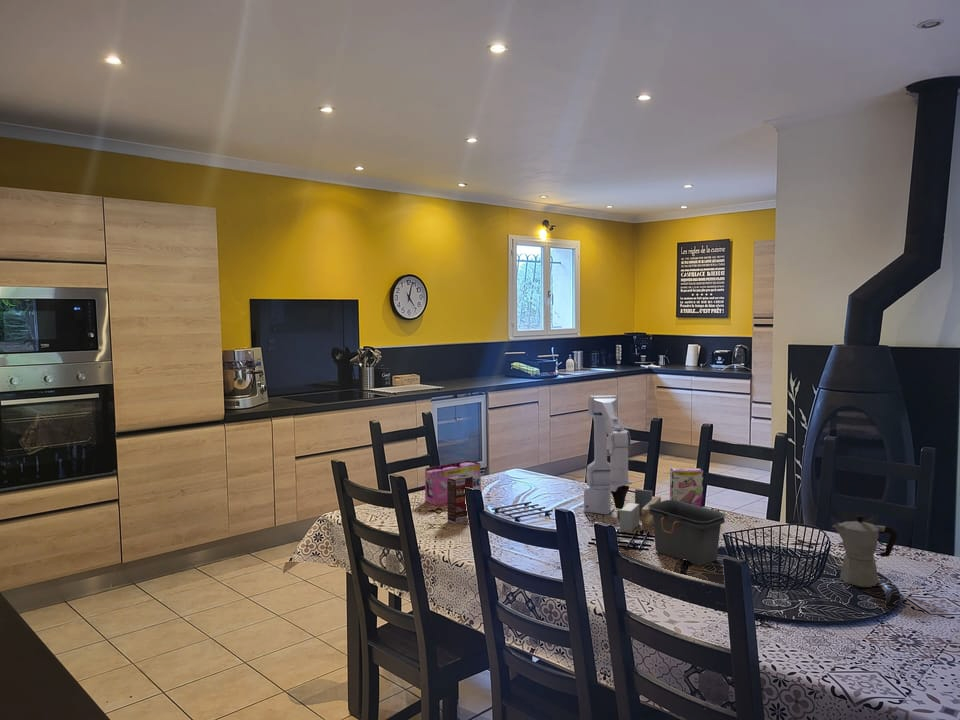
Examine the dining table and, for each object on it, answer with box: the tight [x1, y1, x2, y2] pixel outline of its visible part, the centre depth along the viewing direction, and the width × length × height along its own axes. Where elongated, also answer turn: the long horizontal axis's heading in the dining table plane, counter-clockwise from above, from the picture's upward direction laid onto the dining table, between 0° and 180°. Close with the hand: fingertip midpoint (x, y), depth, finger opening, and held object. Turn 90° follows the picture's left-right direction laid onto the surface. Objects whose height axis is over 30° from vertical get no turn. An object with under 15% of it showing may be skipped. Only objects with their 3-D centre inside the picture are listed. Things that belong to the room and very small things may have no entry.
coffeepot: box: [832, 514, 899, 588], centre depth 185 cm, size 15×9×18 cm, turn 68°
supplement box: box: [446, 475, 473, 525], centre depth 246 cm, size 9×5×16 cm, turn 131°
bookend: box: [634, 488, 653, 514], centre depth 251 cm, size 6×3×9 cm, turn 62°
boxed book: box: [619, 502, 640, 532], centre depth 236 cm, size 4×10×7 cm, turn 152°
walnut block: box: [616, 509, 620, 520], centre depth 247 cm, size 3×6×3 cm, turn 151°
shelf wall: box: [641, 496, 662, 531], centre depth 241 cm, size 2×18×7 cm, turn 152°
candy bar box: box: [669, 467, 704, 508], centre depth 250 cm, size 11×5×16 cm, turn 84°
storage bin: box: [648, 499, 727, 567], centre depth 206 cm, size 21×16×14 cm
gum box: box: [424, 460, 482, 506], centre depth 276 cm, size 24×8×14 cm, turn 129°
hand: (619, 508), depth 227 cm, fingers closed
